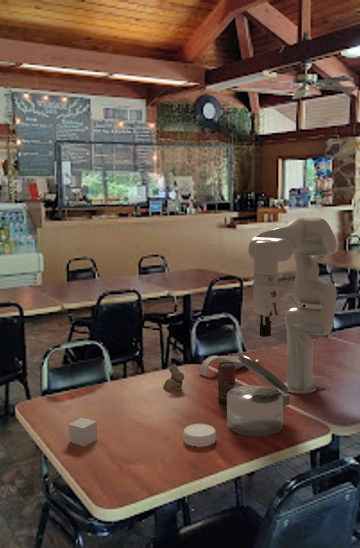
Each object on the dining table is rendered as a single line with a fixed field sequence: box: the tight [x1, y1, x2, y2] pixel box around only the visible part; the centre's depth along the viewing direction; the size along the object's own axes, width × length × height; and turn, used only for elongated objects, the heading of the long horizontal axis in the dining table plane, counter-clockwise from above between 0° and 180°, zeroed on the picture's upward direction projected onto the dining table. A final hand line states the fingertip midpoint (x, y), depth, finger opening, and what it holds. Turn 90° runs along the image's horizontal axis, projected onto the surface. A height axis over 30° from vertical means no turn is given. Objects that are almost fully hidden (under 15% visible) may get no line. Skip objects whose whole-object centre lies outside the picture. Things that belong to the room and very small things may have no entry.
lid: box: [238, 353, 288, 394], centre depth 182 cm, size 19×19×4 cm
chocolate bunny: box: [162, 363, 185, 392], centre depth 216 cm, size 6×8×10 cm
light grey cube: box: [68, 417, 98, 448], centre depth 173 cm, size 6×6×6 cm
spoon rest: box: [198, 355, 245, 377], centre depth 238 cm, size 24×12×7 cm, turn 130°
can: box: [217, 362, 237, 405], centre depth 203 cm, size 6×6×14 cm
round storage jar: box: [226, 381, 290, 437], centre depth 186 cm, size 20×26×10 cm
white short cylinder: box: [182, 423, 217, 448], centre depth 172 cm, size 10×10×4 cm
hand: (265, 335), depth 180 cm, fingers closed
